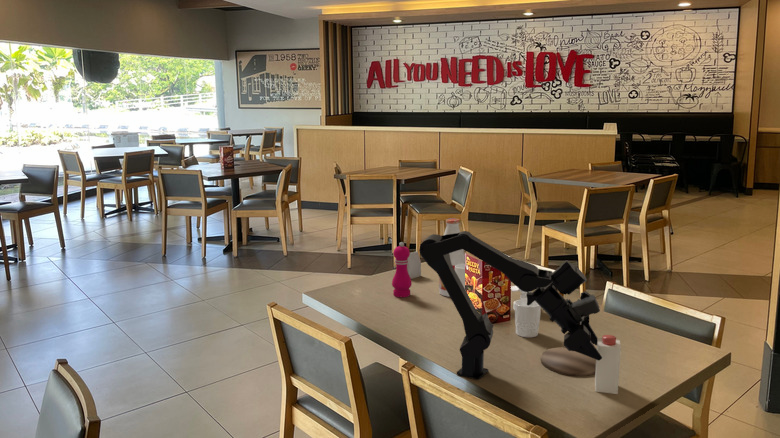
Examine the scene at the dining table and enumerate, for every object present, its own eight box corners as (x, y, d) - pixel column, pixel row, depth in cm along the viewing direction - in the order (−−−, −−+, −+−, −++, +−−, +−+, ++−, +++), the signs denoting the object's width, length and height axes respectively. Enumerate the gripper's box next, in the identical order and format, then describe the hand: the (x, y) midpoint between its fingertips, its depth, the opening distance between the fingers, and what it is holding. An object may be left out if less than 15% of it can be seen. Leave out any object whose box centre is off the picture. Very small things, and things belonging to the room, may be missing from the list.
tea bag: (420, 275, 254) (420, 252, 252) (409, 279, 249) (409, 255, 247) (414, 274, 256) (414, 250, 254) (402, 277, 252) (402, 253, 250)
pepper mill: (389, 296, 228) (389, 243, 224) (395, 291, 234) (394, 239, 230) (408, 298, 226) (408, 244, 222) (413, 292, 232) (413, 240, 228)
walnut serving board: (592, 381, 160) (592, 376, 159) (532, 366, 168) (532, 362, 168) (608, 359, 173) (608, 354, 172) (552, 346, 181) (552, 343, 181)
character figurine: (540, 313, 209) (542, 279, 207) (512, 313, 209) (513, 279, 207) (535, 304, 218) (536, 271, 215) (508, 304, 218) (509, 271, 216)
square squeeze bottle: (617, 394, 153) (621, 342, 150) (595, 391, 154) (598, 340, 151) (616, 384, 157) (619, 334, 155) (594, 382, 159) (597, 332, 156)
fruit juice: (457, 288, 237) (457, 216, 231) (469, 295, 228) (470, 220, 223) (434, 291, 233) (435, 218, 228) (446, 298, 225) (447, 222, 219)
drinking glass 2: (473, 311, 211) (473, 269, 208) (453, 310, 213) (453, 268, 210) (474, 305, 218) (475, 263, 215) (455, 304, 219) (455, 262, 216)
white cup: (521, 327, 197) (522, 296, 195) (544, 332, 192) (545, 301, 190) (509, 334, 191) (510, 303, 189) (532, 340, 186) (533, 308, 184)
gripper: (580, 297, 144) (628, 346, 143) (580, 275, 161) (622, 319, 161) (544, 326, 148) (591, 375, 147) (547, 301, 165) (589, 344, 164)
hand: (599, 351), depth 154 cm, fingers open, 9 cm apart
